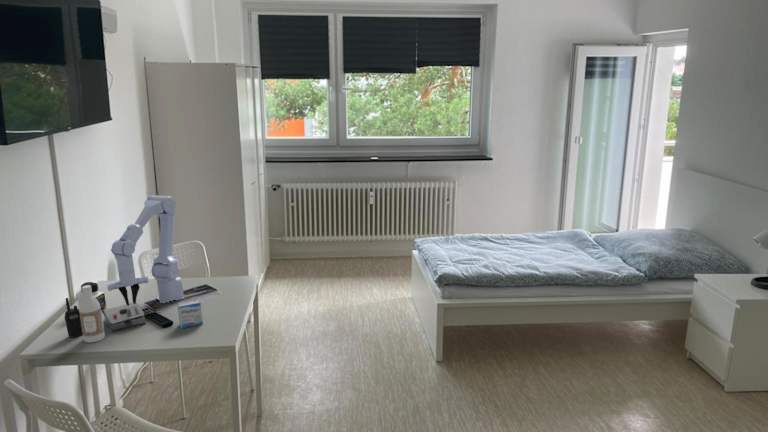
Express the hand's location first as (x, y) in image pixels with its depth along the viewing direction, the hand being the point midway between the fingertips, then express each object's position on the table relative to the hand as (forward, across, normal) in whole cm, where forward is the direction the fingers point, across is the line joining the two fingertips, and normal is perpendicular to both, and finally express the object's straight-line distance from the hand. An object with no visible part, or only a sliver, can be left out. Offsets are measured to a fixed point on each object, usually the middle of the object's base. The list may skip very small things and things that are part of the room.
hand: (131, 303), depth 229 cm
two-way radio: (+6, -21, -4) cm, 22 cm away
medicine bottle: (+6, -12, +17) cm, 21 cm away
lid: (+2, -4, -3) cm, 5 cm away
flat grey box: (+6, -4, -3) cm, 7 cm away
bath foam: (+6, -16, -12) cm, 21 cm away
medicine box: (+6, +16, -21) cm, 27 cm away
